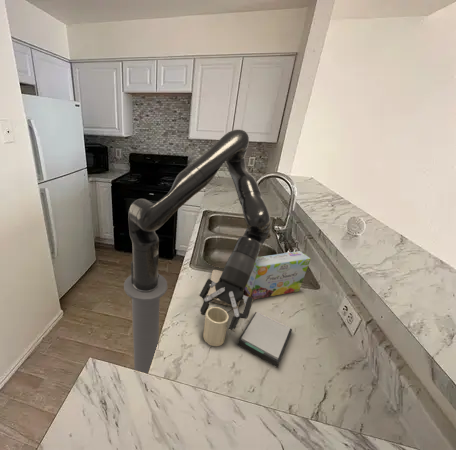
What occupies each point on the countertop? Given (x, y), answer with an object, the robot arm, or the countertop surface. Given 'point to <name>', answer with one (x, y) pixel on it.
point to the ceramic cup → (215, 326)
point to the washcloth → (214, 278)
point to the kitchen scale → (265, 338)
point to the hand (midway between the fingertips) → (215, 321)
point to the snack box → (277, 274)
